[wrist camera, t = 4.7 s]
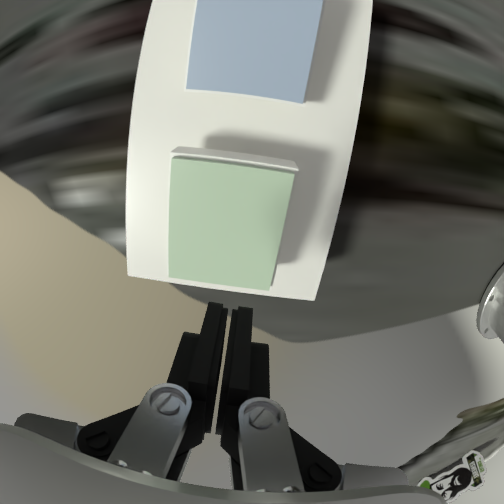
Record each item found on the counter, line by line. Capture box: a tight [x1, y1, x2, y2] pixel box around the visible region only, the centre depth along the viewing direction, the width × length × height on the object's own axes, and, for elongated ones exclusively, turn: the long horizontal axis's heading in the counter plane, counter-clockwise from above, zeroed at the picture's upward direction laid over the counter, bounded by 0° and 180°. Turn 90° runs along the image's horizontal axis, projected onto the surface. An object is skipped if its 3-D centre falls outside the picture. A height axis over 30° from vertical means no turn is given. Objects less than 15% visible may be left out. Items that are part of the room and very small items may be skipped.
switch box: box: [126, 0, 373, 301], centre depth 17 cm, size 13×21×6 cm, turn 172°
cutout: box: [417, 450, 487, 504], centre depth 48 cm, size 15×3×25 cm
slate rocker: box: [184, 0, 326, 107], centre depth 11 cm, size 6×7×2 cm
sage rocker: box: [167, 146, 298, 291], centre depth 15 cm, size 6×7×2 cm
